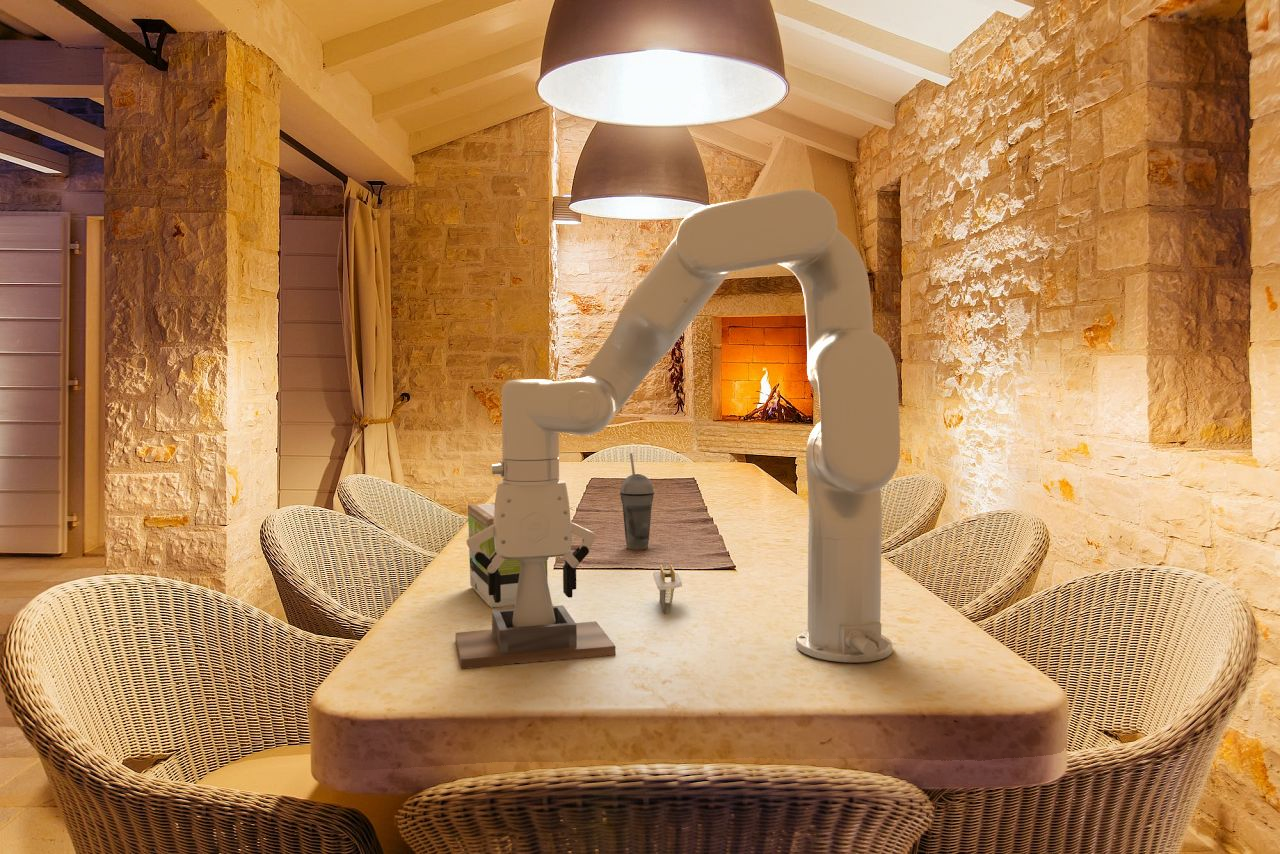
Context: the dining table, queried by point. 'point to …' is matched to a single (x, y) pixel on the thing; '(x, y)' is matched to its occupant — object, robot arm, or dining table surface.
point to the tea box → (509, 569)
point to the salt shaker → (533, 595)
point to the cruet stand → (532, 641)
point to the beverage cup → (637, 509)
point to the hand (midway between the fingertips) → (532, 597)
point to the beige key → (666, 584)
